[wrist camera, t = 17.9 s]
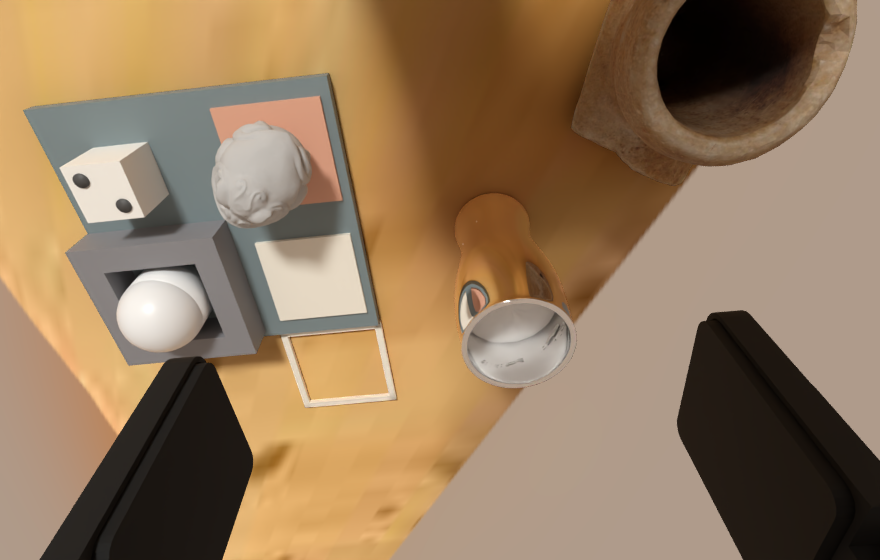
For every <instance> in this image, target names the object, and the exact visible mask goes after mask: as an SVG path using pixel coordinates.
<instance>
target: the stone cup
mask: <svg viewBox="0 0 880 560" xmlns="http://www.w3.org/2000/svg"><path fill="white" fill-rule="evenodd" d="M856 24H857V0H611V2H610V4H609V7H608V10H607V12H606V15H605V18H604V21H603V24H602V27H601V30H600V33H599V36H598V39H597V42H596V45H595V49H594V52H593V55H592V58H591V61H590V64H589V68H588V71H587V74H586V78H585V81H584V84H583V87H582V91H581V94H580V97H579V100H578V103H577V106H576V109H575V113H574V116H573V121H572V126H571V128H572V129H573V131H574V132H576V133H577V134H579V135H580V136H582V137H583V138H586V139H588V140H591V141H593V142H595V143H597V144H598V145H600V146H602V147H605V148H607V149H609V150H612V151H614V152H616V153H617V155H618V156H619V157H620V159H621V160H622V161H623V162H624V163H626V164H627V165H628V166H629V167H630V168H631V169H632V170H634V171H636V172H638V173H640V174H642V175H645V176H647V177H649V178H651V179H653V180H655V181H657V182H661V183H664V184H668V185H672V186H675V185H678V184H681V183H682V182H683V180H684V179H685V177H686V175H687V173H688V171H689V170H690V168H691V166H692V165H693V164H694V165H701V166H726V165H732V164H736V163H740V162H743V161H747V160H751V159H755V158H757V157H759V156H761V155H763V154H765V153H767V152H768V151H771V150H772V149H774V148H776V147H778V146H780V145H781V144H782V143H784V142H785V141H786V140H788V139H790V138H791V137H792V136H793V135H795V134H796V133H797V132H798V131H800V130H801V129H802V128H803V127H804V126H805V125H807V124H808V123H809V122H810V121H811V120H812V119H813V118H814V117H815V116H816V115H817V113H818V112H819V110H820V109H821V108H822V106H823V105H824V104H825V102H826V101H827V100H828V98H829V97H830V95H831V94H832V92H833V90H834V89H835V87H836V84H837V82H838V80H839V78H840V76H841V74H842V72H843V70H844V68H845V65H846V62H847V59H848V56H849V53H850V50H851V47H852V43H853V39H854V35H855V29H856Z"/></svg>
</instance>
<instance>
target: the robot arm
mask: <svg viewBox="0 0 880 560" xmlns="http://www.w3.org/2000/svg"><path fill="white" fill-rule="evenodd" d="M677 427H678V432H679V435H680V438H681V440H682V442H683V444H684V446H685V448H686V450H687V452H688V453H689V456H690V457H691V459H692V461H693V463H694V465H695V467H696V469H697V471H698V473H699V475H700V477H701V479H702V481H703V483H704V485H705V487H706V489H707V490H708V492H709V494H710V496H711V498H712V500H713V502H714V504H715V506H716V508H717V510H718V512H719V514H720V516H721V518H722V519H723V521H724V523H725V525H726V527H727V529H728V531H729V533H730V535H731V537H732V539H733V541H734V543H735V545H736V546H737V548H738V550H739V552H740V554H741V556H742V558H743V560H880V460H879V459H878V458H877V457H876V456H875V455H874V454H873V453H872V451H871V450H870V449H869V448H868V447H867V446H866V445H865V443H864V442H863V441H862V440H861V439H860V438H859V437H858V435H857V434H856V433H855V432H854V431H853V430H852V429H851V428H850V426H849V425H848V424H847V423H846V422H845V421H844V420H843V419H842V417H841V416H840V415H839V414H838V413H837V412H836V411H835V409H834V408H833V407H832V406H831V405H830V404H829V403H828V402H827V400H826V399H825V398H824V397H823V396H822V395H821V394H820V392H819V391H818V390H817V389H816V388H815V387H814V386H813V385H812V384H811V383H810V382H809V381H808V380H807V379H806V377H805V376H804V375H803V374H802V373H801V372H800V371H799V369H798V368H797V367H796V366H795V365H794V364H793V363H792V362H791V360H790V359H789V358H788V357H787V356H786V355H785V354H784V352H783V351H782V350H781V349H780V348H779V347H778V346H777V344H776V343H775V342H774V341H773V340H772V339H771V338H770V337H769V335H768V334H767V333H766V332H765V331H764V330H763V329H762V328H761V326H760V325H759V324H758V323H757V322H756V321H755V320H754V318H753V317H752V316H751V315H750V314H749V313H748V312H746V311H743V310H740V311H729V312H716V313H711V314H710V315H709V316H708V318H707V320H706V321H703V322H701V323H700V324H699V326H698V329H697V333H696V338H695V343H694V347H693V351H692V356H691V360H690V365H689V370H688V374H687V378H686V383H685V387H684V391H683V396H682V400H681V405H680V409H679V414H678V418H677ZM252 468H253V455H252V452H251V449H250V447H249V445H248V442H247V440H246V438H245V435H244V433H243V431H242V428H241V426H240V424H239V422H238V419H237V417H236V415H235V412H234V410H233V408H232V405H231V403H230V401H229V398H228V396H227V394H226V391H225V389H224V387H223V385H222V382H221V380H220V378H219V375H218V373H217V371H216V368H215V367H214V365H213V364H212V363H206V361H205V360H204V359H203V358H202V357H200V356H194V357H182V358H171V359H168V360H167V361H166V362H165V363H164V364H163V366H162V367H161V369H160V371H159V372H158V374H157V375H156V377H155V379H154V380H153V382H152V383H151V385H150V386H149V388H148V390H147V391H146V393H145V394H144V396H143V397H142V399H141V401H140V402H139V404H138V405H137V407H136V409H135V410H134V412H133V413H132V415H131V416H130V418H129V420H128V421H127V423H126V424H125V426H124V427H123V429H122V431H121V432H120V434H119V435H118V437H117V438H116V440H115V442H114V443H113V445H112V446H111V448H110V450H109V451H108V453H107V454H106V456H105V458H104V459H103V461H102V462H101V464H100V465H99V467H98V468H97V470H96V472H95V473H94V475H93V476H92V478H91V480H90V481H89V483H88V484H87V486H86V487H85V489H84V491H83V492H82V494H81V495H80V497H79V498H78V500H77V502H76V504H75V505H74V506H73V508H72V510H71V511H70V513H69V515H68V516H67V518H66V519H65V521H64V522H63V524H62V525H61V527H60V529H59V530H58V532H57V533H56V535H55V536H54V538H53V540H52V541H51V543H50V544H49V546H48V547H47V549H46V551H45V552H44V554H43V555H42V557H41V558H40V560H222V559H223V556H224V553H225V550H226V547H227V544H228V541H229V538H230V535H231V532H232V529H233V526H234V523H235V520H236V517H237V514H238V511H239V508H240V505H241V502H242V499H243V496H244V493H245V490H246V487H247V484H248V481H249V478H250V475H251V472H252Z"/></svg>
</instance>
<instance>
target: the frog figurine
mask: <svg viewBox="0 0 880 560" xmlns="http://www.w3.org/2000/svg"><path fill="white" fill-rule="evenodd" d="M310 160H311V155H310V153H309V152H308V151H307V150H306V149H305V148H304V147H303V145H302V144H301V142H300V141H299V140H298V139H297V138H296V137H295V136H294V135H293V134H292V133H290V132H289V131H287V130H285V129H283V128H281V127H278V126H273V125H268V124H267V123H265V122H263V121H257V122H255V123H254V124H246V125H244V126H242V127H240V128H239V129H237V130H236V131H235V132H234V133H233V138H227V139H226V140H224V141H223V143H222V144H221V146H220V147H219V149H218V151H217V154H216V156H215V162H216V165H215V166H214V167H213V170H212V178H211V183H212V189H213V194H214V199H215V202H216V205H217V208H218V210H219V212H220V214H221V215H222V217H223V218H224V219H225V220H226V221H227V222H228V223H230V224H231V225H233V226H236V227H239V228H256V227H261V226H266V225H269V224H271V223H274V222H277V221H279V220H280V219H282V218H283V217H285V216H286V215H287V214H288V212H289V211H290V210H293V209H295V208H296V207H298V206H299V205H300V204H301V203H302V201H303V200H304V198H305V196H306V194H307V191H308V187H307V185H306V184H308V183H309V181H310V179H311V175H312V166H311V163H310Z"/></svg>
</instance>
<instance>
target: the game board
mask: <svg viewBox="0 0 880 560" xmlns="http://www.w3.org/2000/svg"><path fill="white" fill-rule="evenodd" d="M23 111H24V113H25V115H26V117H27V119H28V121H29V123H30V125H31V127H32V128H33V130H34V132H35V134H36V136H37V138H38V140H39V142H40V144H41V146H42V148H43V149H44V151H45V153H46V155H47V157H48V159H49V161H50V163H51V165H52V167H53V169H54V170H55V172H56V174H57V176H58V178H59V180H60V182H61V184H62V186H63V188H64V189H65V191H66V193H67V195H68V197H69V199H70V201H71V203H72V205H73V207H74V209H75V210H76V212H77V214H78V216H79V218H80V220H81V222H82V224H83V226H84V228H85V230H86V231H87V233H88V234H87V235H86V236H84V237H83V238H82V239H81V240H80V241H78V242H77V243H76V244H75V245H74V246H73V247H71V248H70V249H69V250H68V251H67V252H65V253H66V255H67V257H68V259H69V261H70V262H71V264H72V266H73V268H74V269H75V271H76V273H77V275H78V277H79V278H80V280H81V282H82V284H83V285H84V287H85V289H86V291H87V292H88V294H89V296H90V298H91V300H92V301H93V303H94V305H95V307H96V308H97V310H98V312H99V314H100V316H101V317H102V319H103V321H104V323H105V324H106V326H107V328H108V330H109V332H110V333H111V335H112V337H113V339H114V340H115V342H116V344H117V346H118V348H119V349H120V351H121V353H122V355H123V356H124V358H125V360H126V362H127V364H128V365H140V364H151V363H161V362H166V361H167V360H168V359H171V358H182V357H194V356H200V357H202V358H203V359H204V358H215V357H226V356H237V355H247V354H256V353H257V351H258V349H259V346H260V344H261V342H262V339H263V337H264V336H271V335H281V338H282V341H283V344H284V347H285V350H286V353H287V356H288V359H289V362H290V365H291V368H292V370H293V373H294V376H295V379H296V382H297V385H298V388H299V391H300V394H301V397H302V400H303V403H304V406H305V408H308V407H319V406H330V405H342V404H353V403H364V402H375V401H387V400H396V392H395V387H394V382H393V377H392V372H391V367H390V362H389V357H388V353H387V348H386V343H385V338H384V333H383V328H382V323H381V320H379V314H378V309H377V304H376V299H375V295H374V290H373V285H372V280H371V275H370V270H369V265H368V261H367V256H366V251H365V246H364V241H363V236H362V231H361V226H360V222H359V217H358V212H357V207H356V202H355V197H354V192H353V188H352V183H351V178H350V173H349V168H348V163H347V158H346V154H345V149H344V144H343V139H342V134H341V129H340V124H339V120H338V115H337V110H336V105H335V100H334V95H333V90H332V85H331V81H330V76H329V73H325V74H316V75H308V76H299V77H290V78H281V79H272V80H263V81H255V82H246V83H237V84H228V85H219V86H211V87H202V88H193V89H184V90H175V91H166V92H158V93H149V94H140V95H131V96H122V97H113V98H105V99H96V100H87V101H78V102H69V103H61V104H52V105H43V106H34V107H30V108H28V109H25V110H23ZM257 121H263V122H265V123H267V124H268V125H273V126H278V127H281V128H283V129H285V130H287V131H289V132H290V133H292V134H293V135H294V136H295V137H296V138H297V139H298V140H299V141H300V142H301V144H302V145H303V147H304V148H305V149H306V150H307V151H308V152H309V153H310V155H311V160H310V163H311V166H312V175H311V179H310V181H309V183H308V184H306V185H307V187H308V191H307V194H306V196H305V198H304V200H303V201H302V203H301V204H300V205H299V206H298V207H296V208H295V209H293V210H290V211H289V212H288V214H287V215H286V216H285V217H283V218H282V219H280V220H279V221H277V222H274V223H271V224H269V225H266V226H261V227H256V228H239V227H236V226H233V225H231V224H230V223H228V222H227V221H226V220H225V219H224V218H223V217H222V215H221V214H220V212H219V210H218V208H217V205H216V202H215V199H214V194H213V189H212V183H211V178H212V170H213V167H214V166H215V165H216V162H215V156H216V154H217V151H218V149H219V147H220V146H221V144H222V143H223V141H224V140H226V139H227V138H233V133H234V132H235V131H236V130H237V129H239V128H240V127H242V126H244V125H246V124H254V123H255V122H257ZM180 265H191V266H193V267H195V268H197V270H198V273H199V275H200V277H201V280H202V282H203V285H204V287H205V290H206V292H207V294H208V297H209V299H210V302H211V304H212V306H213V310H212V311H211V313H210V315H209V316H208V318H207V320H206V321H205V323H204V325H203V326H202V328H201V330H200V331H199V333H198V334H197V335H196V337H195V338H194V339H193V340H192V341H190V342H189V343H188V344H186V345H185V346H183V347H181V348H179V349H176V350H173V351H169V352H150V351H146V350H143V349H140V348H138V347H136V346H135V345H133V344H132V343H130V342H129V341H128V340H127V339H126V338H125V337H124V335H123V334H122V332H121V331H120V329H119V326H118V322H117V307H118V303H119V301H120V298H121V296H122V295H123V293H124V292H125V291H126V289H127V288H128V287H129V286H130V285H131V284H132V283H133V282H134V280H135V279H136V278H137V277H138V276H139V275H140V274H141V273H142V271H143V270H144V269H150V268H160V267H170V266H180ZM368 329H375V331H376V336H377V340H378V345H379V350H380V354H381V359H382V364H383V368H384V373H385V378H386V382H387V387H388V392H389V393H383V394H372V395H361V396H350V397H338V398H327V399H316V400H310V397H309V394H308V391H307V388H306V385H305V382H304V379H303V376H302V373H301V370H300V367H299V364H298V361H297V358H296V355H295V352H294V349H293V346H292V342H291V339H290V337H294V336H304V335H315V334H326V333H336V332H347V331H357V330H368Z"/></svg>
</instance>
